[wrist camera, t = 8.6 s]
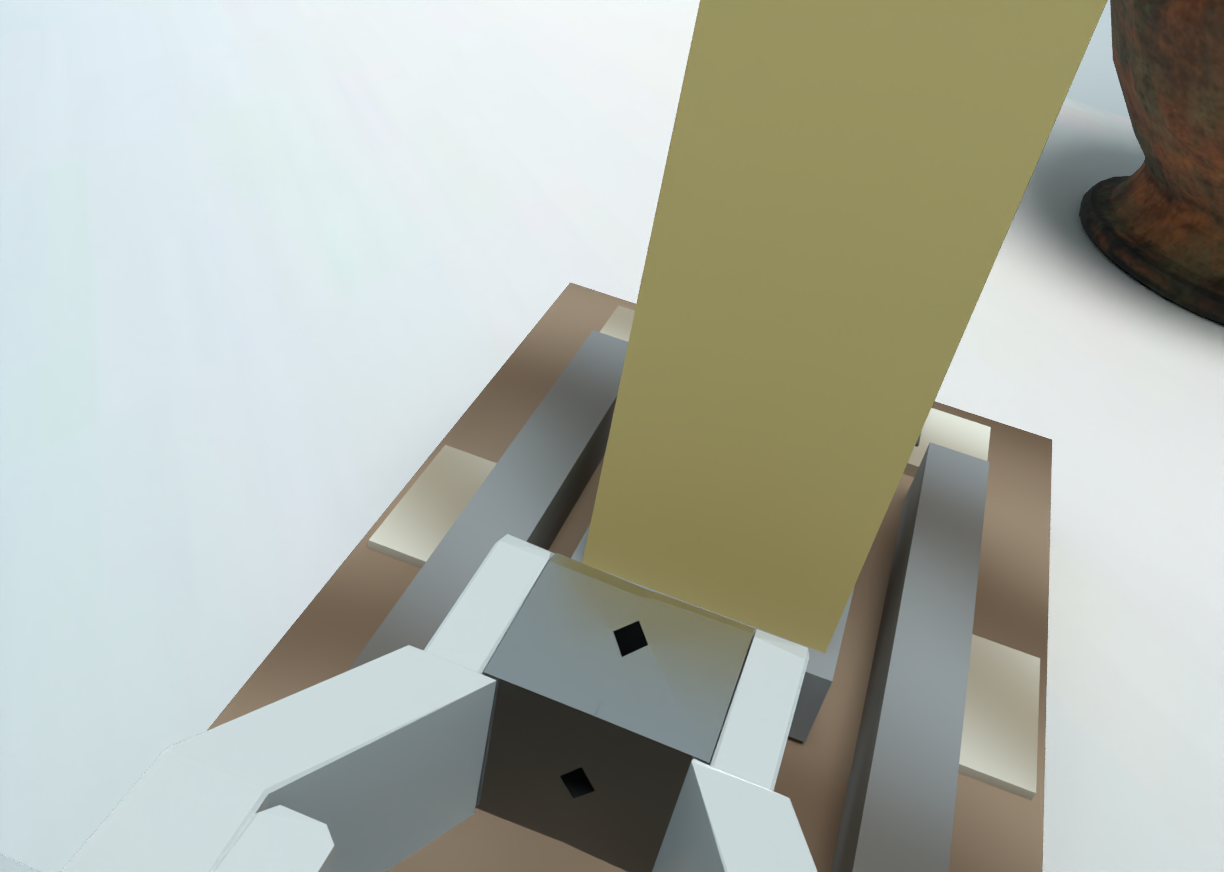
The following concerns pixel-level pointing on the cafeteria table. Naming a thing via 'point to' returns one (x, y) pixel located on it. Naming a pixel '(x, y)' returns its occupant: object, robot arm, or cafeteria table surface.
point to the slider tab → (814, 290)
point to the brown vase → (1169, 153)
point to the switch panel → (870, 649)
